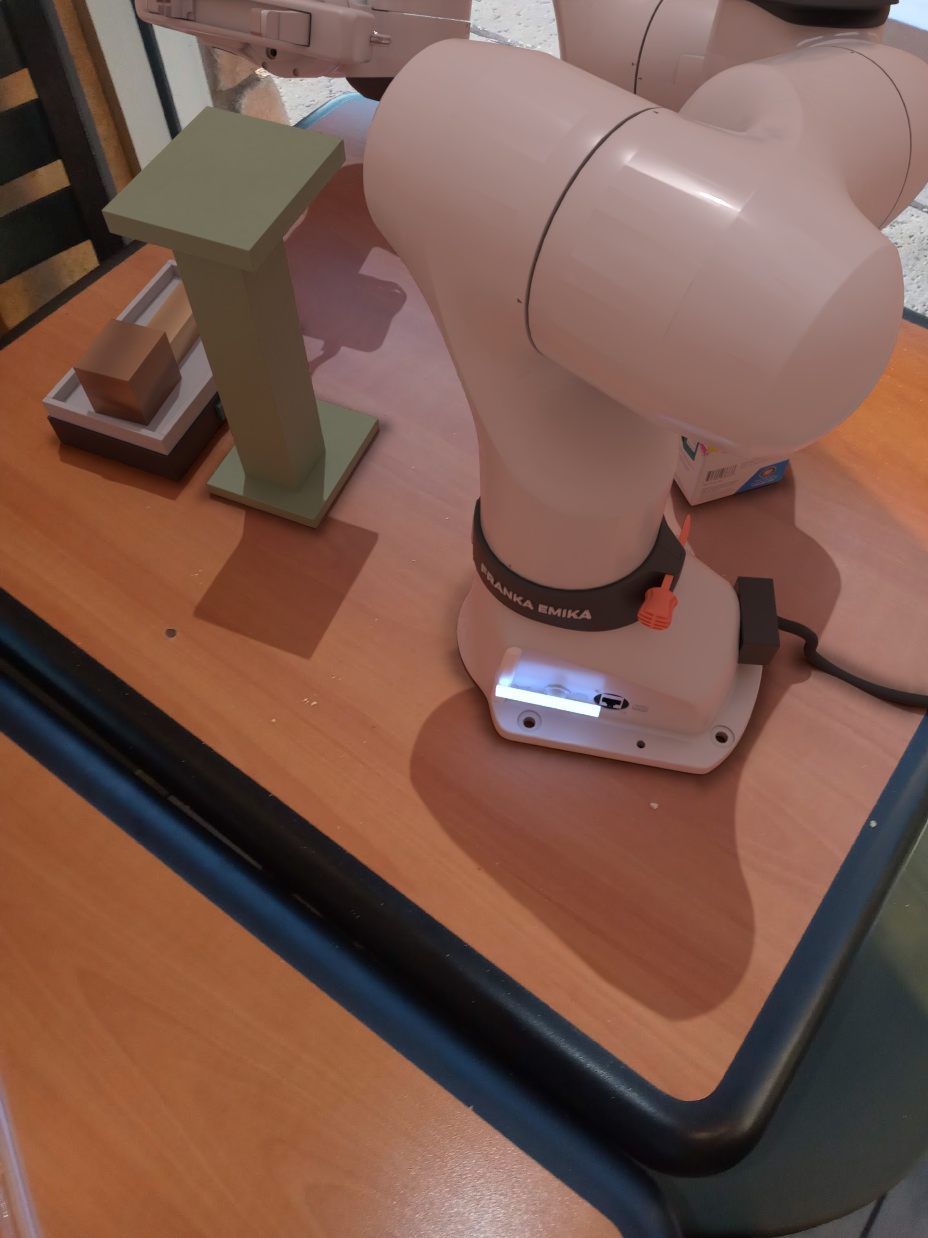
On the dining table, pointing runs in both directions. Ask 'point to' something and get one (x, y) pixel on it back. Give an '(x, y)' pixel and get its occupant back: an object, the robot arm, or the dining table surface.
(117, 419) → the scale
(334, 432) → the stand
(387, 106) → the robot arm
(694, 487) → the ink box
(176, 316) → the mallet
